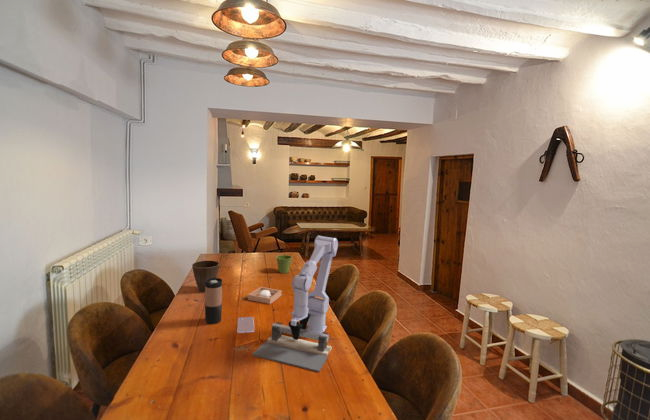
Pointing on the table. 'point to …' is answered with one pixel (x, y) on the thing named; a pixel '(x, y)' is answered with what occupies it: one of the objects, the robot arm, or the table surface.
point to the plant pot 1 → (204, 272)
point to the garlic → (265, 293)
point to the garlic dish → (254, 297)
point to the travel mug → (213, 300)
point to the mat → (291, 356)
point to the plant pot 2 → (283, 263)
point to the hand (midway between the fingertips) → (299, 334)
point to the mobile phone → (245, 325)
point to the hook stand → (299, 343)
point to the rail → (301, 332)
